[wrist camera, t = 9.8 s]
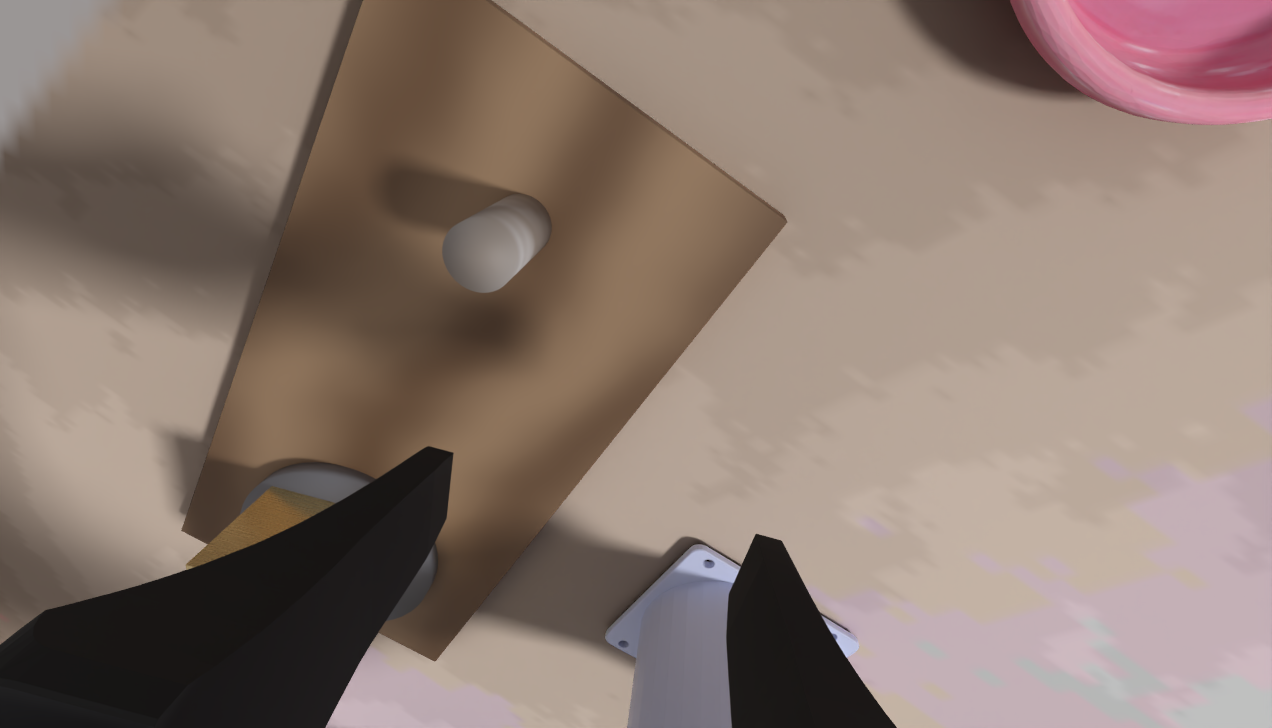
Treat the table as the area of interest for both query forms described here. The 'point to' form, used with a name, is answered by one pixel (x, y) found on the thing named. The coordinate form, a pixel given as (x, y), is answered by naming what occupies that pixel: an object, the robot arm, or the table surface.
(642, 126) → the board
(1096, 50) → the pink ring
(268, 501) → the collar
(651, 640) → the robot arm
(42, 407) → the table surface
